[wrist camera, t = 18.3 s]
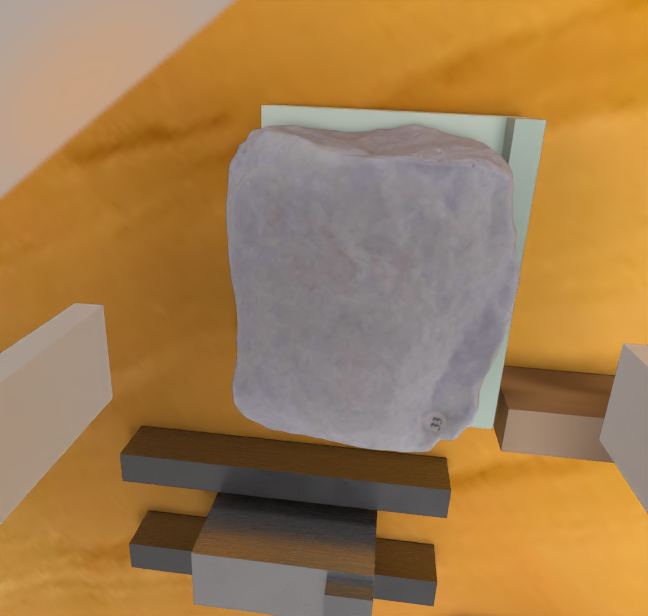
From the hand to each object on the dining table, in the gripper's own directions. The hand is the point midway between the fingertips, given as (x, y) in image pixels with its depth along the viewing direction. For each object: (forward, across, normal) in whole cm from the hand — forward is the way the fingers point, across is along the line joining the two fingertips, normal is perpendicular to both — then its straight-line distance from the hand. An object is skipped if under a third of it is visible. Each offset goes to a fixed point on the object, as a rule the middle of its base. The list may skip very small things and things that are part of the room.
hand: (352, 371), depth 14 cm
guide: (+12, -3, -14) cm, 18 cm away
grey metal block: (+12, -2, -14) cm, 18 cm away
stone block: (+8, +1, 0) cm, 8 cm away
